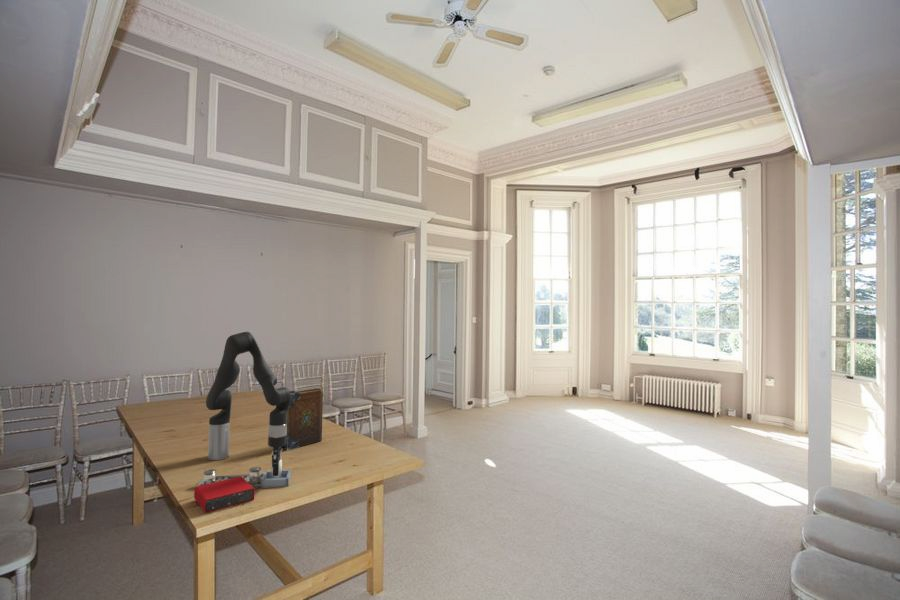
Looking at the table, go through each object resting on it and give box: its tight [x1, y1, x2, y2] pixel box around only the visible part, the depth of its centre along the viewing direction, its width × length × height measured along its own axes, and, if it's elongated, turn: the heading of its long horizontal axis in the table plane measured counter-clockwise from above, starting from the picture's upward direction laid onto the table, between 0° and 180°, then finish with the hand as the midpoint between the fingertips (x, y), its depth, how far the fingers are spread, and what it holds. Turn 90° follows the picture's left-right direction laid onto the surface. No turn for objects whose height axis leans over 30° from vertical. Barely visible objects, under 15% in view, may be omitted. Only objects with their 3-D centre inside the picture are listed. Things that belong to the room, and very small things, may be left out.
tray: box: [260, 469, 292, 489], centre depth 195 cm, size 11×11×3 cm
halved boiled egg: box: [270, 458, 283, 478], centre depth 195 cm, size 4×4×7 cm
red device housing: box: [193, 476, 256, 514], centre depth 176 cm, size 18×14×5 cm
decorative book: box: [282, 387, 324, 452], centre depth 249 cm, size 23×7×30 cm, turn 143°
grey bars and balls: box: [196, 466, 264, 489], centre depth 191 cm, size 19×26×6 cm
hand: (276, 473), depth 195 cm, fingers closed on halved boiled egg, 4 cm apart
